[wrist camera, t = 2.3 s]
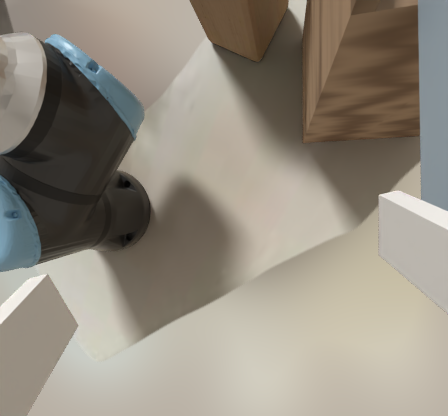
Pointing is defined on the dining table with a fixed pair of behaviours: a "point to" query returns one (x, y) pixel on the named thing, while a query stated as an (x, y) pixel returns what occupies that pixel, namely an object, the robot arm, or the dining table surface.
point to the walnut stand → (360, 70)
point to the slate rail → (433, 100)
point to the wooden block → (241, 23)
